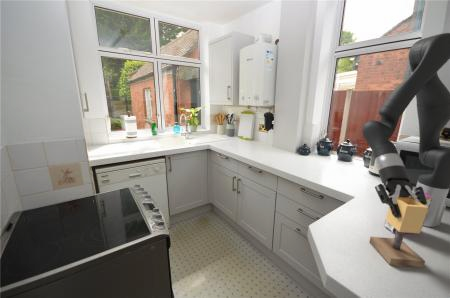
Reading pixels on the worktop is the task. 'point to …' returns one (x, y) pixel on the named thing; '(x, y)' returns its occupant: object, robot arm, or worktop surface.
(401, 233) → the post stand
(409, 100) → the robot arm
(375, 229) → the worktop surface
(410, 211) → the sleeve
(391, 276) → the worktop surface
